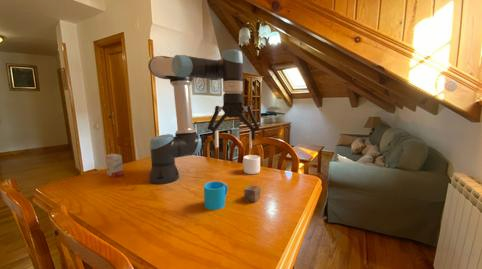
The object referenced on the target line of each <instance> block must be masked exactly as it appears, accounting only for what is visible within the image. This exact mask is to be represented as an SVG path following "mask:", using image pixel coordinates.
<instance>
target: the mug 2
mask: <svg viewBox="0 0 482 269" xmlns="http://www.w3.org/2000/svg"><path fill="white" fill-rule="evenodd" d="M242 166H243V172H244V173H245V174H247V175H256V174H259V173H260V172H261V156H259V155H256V154H254V155H253V154H247V155H244V156H243V160H242Z"/></svg>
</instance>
